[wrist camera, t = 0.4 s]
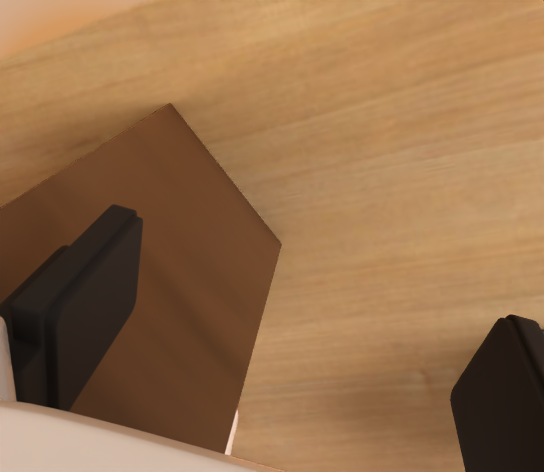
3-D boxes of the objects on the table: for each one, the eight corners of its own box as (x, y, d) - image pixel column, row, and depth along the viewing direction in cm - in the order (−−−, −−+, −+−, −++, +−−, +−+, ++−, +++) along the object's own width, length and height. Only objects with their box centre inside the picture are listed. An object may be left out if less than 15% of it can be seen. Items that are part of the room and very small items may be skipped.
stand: (170, 102, 24) (-296, 390, 7) (282, 244, 27) (159, 700, 10) (54, 198, 28) (-435, 540, 11) (162, 313, 31) (-79, 728, 14)
